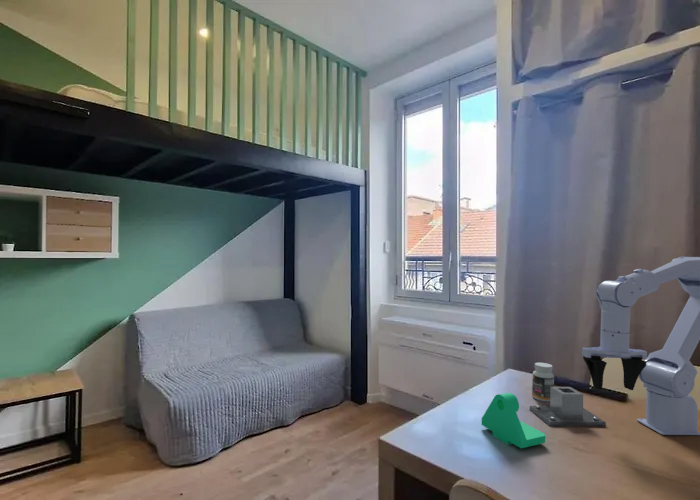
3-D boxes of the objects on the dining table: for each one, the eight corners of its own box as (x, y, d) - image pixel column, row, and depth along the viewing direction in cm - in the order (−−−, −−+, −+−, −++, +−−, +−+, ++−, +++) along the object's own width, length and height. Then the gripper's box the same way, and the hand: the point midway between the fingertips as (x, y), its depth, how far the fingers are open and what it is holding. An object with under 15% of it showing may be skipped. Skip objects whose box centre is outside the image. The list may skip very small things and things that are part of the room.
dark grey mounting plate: (580, 409, 105) (580, 387, 105) (605, 426, 95) (606, 401, 95) (529, 409, 104) (529, 387, 104) (549, 426, 94) (550, 401, 94)
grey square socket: (570, 409, 102) (570, 386, 102) (582, 418, 97) (583, 394, 97) (550, 409, 102) (550, 386, 102) (561, 418, 97) (562, 394, 97)
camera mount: (547, 447, 84) (547, 400, 84) (521, 453, 81) (521, 404, 82) (505, 424, 95) (506, 382, 96) (481, 429, 93) (482, 386, 93)
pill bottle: (527, 396, 115) (528, 362, 115) (543, 394, 116) (543, 361, 116) (542, 403, 109) (543, 368, 109) (558, 401, 111) (559, 366, 111)
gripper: (596, 333, 88) (594, 393, 88) (658, 335, 88) (656, 395, 88) (577, 327, 95) (575, 382, 95) (634, 329, 95) (632, 384, 95)
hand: (613, 388), depth 92 cm, fingers open, 7 cm apart
